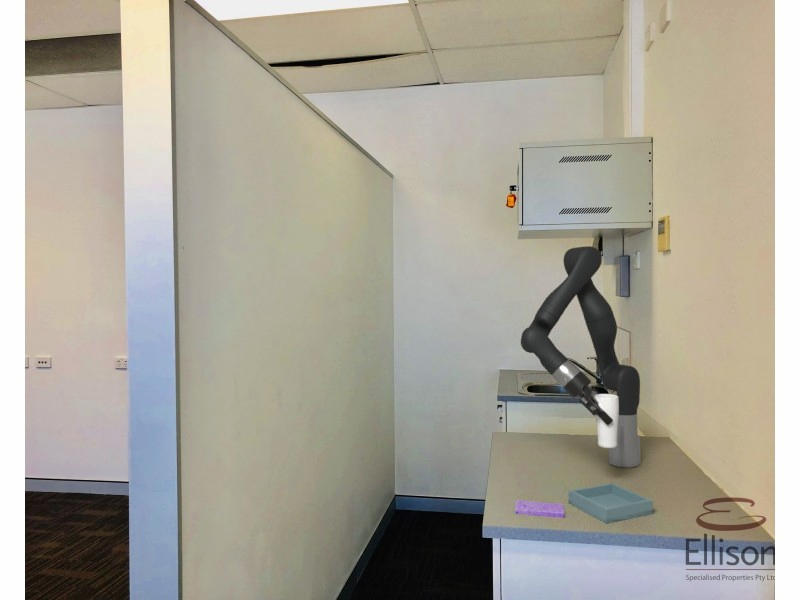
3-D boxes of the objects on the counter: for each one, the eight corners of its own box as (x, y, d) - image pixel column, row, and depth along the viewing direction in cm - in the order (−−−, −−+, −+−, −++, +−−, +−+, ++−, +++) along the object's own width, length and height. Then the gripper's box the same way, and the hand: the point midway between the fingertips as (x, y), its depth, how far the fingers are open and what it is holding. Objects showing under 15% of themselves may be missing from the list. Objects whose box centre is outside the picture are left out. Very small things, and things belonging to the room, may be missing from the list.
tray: (612, 495, 160) (612, 482, 160) (652, 513, 146) (652, 500, 146) (568, 503, 155) (568, 490, 155) (606, 523, 141) (606, 509, 141)
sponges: (516, 506, 155) (516, 499, 155) (563, 509, 152) (563, 502, 152) (515, 516, 148) (514, 509, 148) (564, 519, 145) (564, 512, 145)
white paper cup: (608, 450, 162) (607, 399, 162) (590, 445, 168) (589, 395, 168) (625, 447, 165) (623, 396, 165) (606, 442, 171) (605, 392, 171)
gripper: (574, 373, 164) (618, 417, 158) (584, 367, 176) (625, 407, 171) (556, 390, 167) (599, 434, 161) (567, 383, 179) (607, 423, 174)
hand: (612, 420), depth 166 cm, fingers closed on white paper cup, 6 cm apart
